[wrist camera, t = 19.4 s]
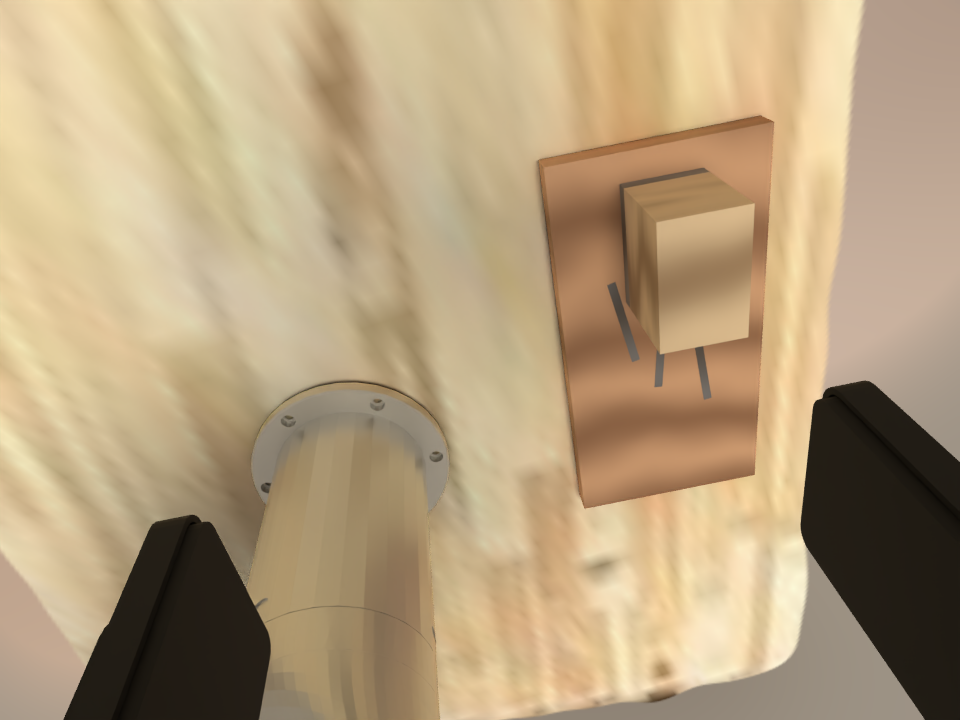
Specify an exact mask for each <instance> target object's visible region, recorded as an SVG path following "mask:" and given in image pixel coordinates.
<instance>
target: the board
mask: <svg viewBox="0 0 960 720" xmlns="http://www.w3.org/2000/svg"><path fill="white" fill-rule="evenodd" d="M773 132H774V122H773V121H771V120H769V119H767V118H764V117H762V116H757V117H752V118H747V119H742V120H737V121H732V122H727V123H722V124H717V125H712V126H707V127H702V128H697V129H692V130H687V131H682V132H677V133H672V134H667V135H662V136H657V137H652V138H647V139H642V140H637V141H632V142H627V143H622V144H617V145H612V146H606V147H601V148H596V149H591V150H586V151H581V152H576V153H571V154H566V155H561V156H556V157H551V158H546V159H541V160H539V168H540V176H541V184H542V192H543V200H544V209H545V217H546V225H547V233H548V241H549V249H550V257H551V265H552V274H553V282H554V290H555V298H556V306H557V314H558V322H559V330H560V338H561V347H562V355H563V363H564V371H565V379H566V387H567V395H568V403H569V412H570V420H571V428H572V436H573V444H574V452H575V460H576V468H577V476H578V485H579V493H580V497H581V499H582V502H583V505H584V508H590V507H595V506H600V505H605V504H611V503H616V502H621V501H626V500H631V499H636V498H641V497H646V496H651V495H656V494H661V493H666V492H671V491H676V490H681V489H686V488H691V487H696V486H701V485H706V484H711V483H716V482H721V481H726V480H731V479H736V478H741V477H746V476H751V475H754V474H755V456H756V438H757V420H758V402H759V384H760V366H761V348H762V330H763V312H764V294H765V276H766V258H767V240H768V222H769V204H770V186H771V168H772V150H773ZM699 168H705V169H706V170H708V171H709V172H711V173H712V174H714V175H715V176H716V177H718V178H719V179H721V180H722V181H724V182H725V183H726V184H728V185H729V186H731V187H732V188H734V189H735V190H736V191H738V192H739V193H741V194H742V195H744V196H745V197H746V198H748V199H749V200H751V201H752V202H754V203H755V209H754V229H753V250H752V271H751V291H750V312H749V333H748V337H747V338H742V339H737V340H732V341H727V342H721V343H716V344H711V345H706V346H701V347H696V348H690V349H685V350H680V351H675V352H670V353H665V354H660V353H659V352H658V350H657V349H656V347H655V346H654V344H653V343H652V341H651V340H650V338H649V336H648V335H647V333H646V332H645V330H644V329H643V327H642V326H641V324H640V323H639V321H638V320H637V318H636V317H635V315H634V314H633V312H632V310H631V309H630V307H629V306H628V304H627V303H626V291H625V273H624V256H623V239H622V221H621V204H620V186H619V184H621V183H627V182H632V181H637V180H642V179H647V178H653V177H658V176H663V175H668V174H673V173H678V172H684V171H689V170H694V169H699Z"/></svg>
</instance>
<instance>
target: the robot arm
mask: <svg viewBox="0 0 960 720" xmlns="http://www.w3.org/2000/svg"><path fill="white" fill-rule="evenodd" d="M449 467H450V462H449V453H448V447H447V444H446V440H445V437H444V434H443V432H442V431H441V429H440V427H439V425H438V424H437V422H436V421H435V420H434V418H433V417H432V416H431V415H430V414H429V413H428V412H427V411H426V410H425V409H424V408H423V407H422V406H420V405H419V404H418V403H416V402H415V401H414V400H412V399H411V398H409V397H407V396H405V395H403V394H401V393H399V392H397V391H394V390H391V389H388V388H384V387H381V386H378V385H372V384H365V383H357V382H356V383H334V384H329V385H323V386H318V387H315V388H312V389H309V390H307V391H304V392H301V393H299V394H297V395H296V396H294V397H292V398H290V399H289V400H287V401H285V402H284V403H283V404H281V405H280V406H279V407H278V408H277V409H276V410H275V411H273V412H272V413H271V414H270V416H269V417H268V418H267V420H266V421H265V422H264V424H263V425H262V427H261V429H260V431H259V433H258V436H257V438H256V441H255V444H254V448H253V452H252V456H251V473H252V478H253V482H254V486H255V488H256V490H257V492H258V494H259V496H260V498H261V500H262V501H263V502H264V503H265V505H266V508H265V512H264V516H263V521H262V525H261V529H260V533H259V537H258V542H257V546H256V550H255V554H254V559H253V563H252V567H251V571H250V575H249V580H248V584H247V588H245V586H244V584H243V582H242V580H241V578H240V576H239V574H238V572H237V570H236V569H235V567H234V565H233V563H232V561H231V559H230V557H229V555H228V553H227V551H226V549H225V547H224V545H223V543H222V541H221V539H220V538H219V536H218V534H217V532H216V530H215V528H214V526H213V525H212V524H211V523H210V522H201V520H200V519H199V518H198V517H197V516H195V515H188V516H183V517H178V518H173V519H168V520H163V521H158V522H155V523H154V524H153V525H152V526H151V528H150V529H149V531H148V534H147V536H146V538H145V541H144V543H143V545H142V548H141V550H140V552H139V555H138V557H137V559H136V562H135V564H134V566H133V569H132V571H131V573H130V576H129V578H128V580H127V583H126V585H125V587H124V590H123V592H122V594H121V597H120V599H119V601H118V604H117V606H116V608H115V611H114V613H113V615H112V618H111V620H110V622H109V624H108V625H107V626H106V627H105V628H104V630H103V632H102V633H101V635H100V637H99V639H98V641H97V644H96V646H95V648H94V650H93V653H92V655H91V657H90V660H89V662H88V664H87V667H86V669H85V671H84V674H83V676H82V678H81V680H80V683H79V685H78V687H77V690H76V692H75V694H74V697H73V699H72V701H71V704H70V706H69V708H68V710H67V713H66V715H65V717H64V720H440V712H439V697H438V680H437V665H436V640H435V624H434V607H433V590H432V572H431V554H430V536H429V517H428V513H429V512H430V511H431V510H432V509H433V508H434V507H435V506H436V505H437V503H438V501H439V500H440V498H441V496H442V495H443V493H444V491H445V488H446V485H447V482H448V479H449ZM801 533H802V537H803V540H804V542H805V544H806V546H807V548H808V550H809V551H810V553H811V554H812V556H813V557H814V559H815V560H816V561H817V563H818V564H819V566H820V567H821V569H822V570H823V571H824V573H825V574H826V576H827V577H828V579H829V580H830V582H831V583H832V585H833V586H834V588H835V589H836V591H837V592H838V593H839V595H840V596H841V598H842V599H843V601H844V602H845V604H846V605H847V607H848V608H849V609H850V611H851V612H852V614H853V615H854V617H855V618H856V620H857V621H858V622H859V624H860V625H861V627H862V628H863V630H864V631H865V633H866V634H867V635H868V637H869V638H870V640H871V641H872V643H873V644H874V646H875V647H876V649H877V650H878V652H879V653H880V655H881V656H882V658H883V659H884V661H885V662H886V663H887V665H888V666H889V668H890V669H891V671H892V672H893V674H894V675H895V676H896V678H897V679H898V681H899V682H900V684H901V685H902V687H903V688H904V690H905V691H906V693H907V694H908V696H909V697H910V698H911V700H912V701H913V703H914V704H915V706H916V707H917V708H918V710H919V712H920V713H921V714H922V716H923V717H924V719H925V720H960V462H959V461H958V460H957V459H956V458H955V457H953V456H952V455H951V454H950V453H949V452H948V451H947V450H946V449H945V448H944V447H943V446H942V445H940V444H939V443H938V442H937V441H936V440H935V439H934V438H933V437H932V436H930V435H929V434H928V433H927V432H926V431H925V430H924V429H923V428H922V427H921V426H920V425H918V424H917V423H916V422H915V421H914V420H913V419H912V418H911V417H910V416H909V415H907V414H906V413H905V412H904V411H903V410H902V409H901V408H900V407H899V406H897V405H896V404H895V403H894V402H893V401H892V400H891V399H890V398H889V397H887V395H885V394H884V393H883V392H882V391H881V390H880V389H879V388H878V387H877V386H876V385H874V384H873V383H871V382H869V381H860V382H856V383H850V384H846V385H841V386H835V387H830V388H828V389H826V390H825V392H824V394H823V398H822V399H819V400H816V402H815V403H814V406H813V413H812V422H811V431H810V441H809V450H808V459H807V469H806V478H805V487H804V497H803V506H802V515H801Z"/></svg>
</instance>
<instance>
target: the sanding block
mask: <svg viewBox="0 0 960 720" xmlns="http://www.w3.org/2000/svg"><path fill="white" fill-rule="evenodd" d="M619 186H620V204H621V221H622V239H623V256H624V273H625V291H626V303H627V304H628V306H629V307H630V309H631V310H632V312H633V314H634V315H635V317H636V318H637V320H638V321H639V323H640V324H641V326H642V327H643V329H644V330H645V332H646V333H647V335H648V336H649V338H650V340H651V341H652V343H653V344H654V346H655V347H656V349H657V350H658V352H659V353H660V354H665V353H670V352H675V351H680V350H685V349H690V348H696V347H701V346H706V345H711V344H716V343H721V342H727V341H732V340H737V339H742V338H747V337H748V333H749V312H750V291H751V271H752V250H753V229H754V209H755V203H754V202H752V201H751V200H749V199H748V198H746V197H745V196H744V195H742V194H741V193H739V192H738V191H736V190H735V189H734V188H732V187H731V186H729V185H728V184H726V183H725V182H724V181H722V180H721V179H719V178H718V177H716V176H715V175H714V174H712V173H711V172H709V171H708V170H706V169H705V168H699V169H694V170H689V171H684V172H678V173H673V174H668V175H663V176H658V177H653V178H647V179H642V180H637V181H632V182H627V183H621V184H619Z"/></svg>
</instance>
